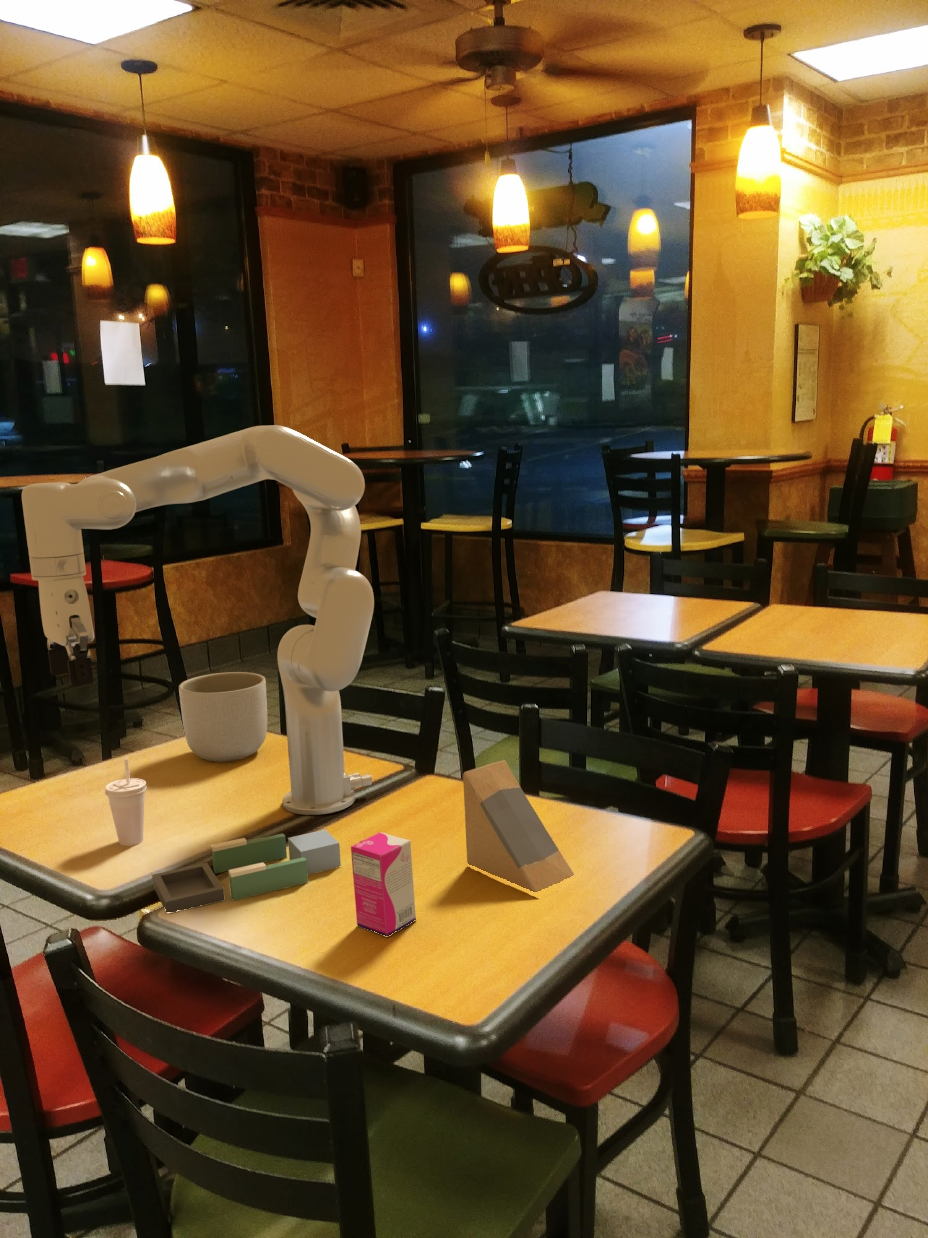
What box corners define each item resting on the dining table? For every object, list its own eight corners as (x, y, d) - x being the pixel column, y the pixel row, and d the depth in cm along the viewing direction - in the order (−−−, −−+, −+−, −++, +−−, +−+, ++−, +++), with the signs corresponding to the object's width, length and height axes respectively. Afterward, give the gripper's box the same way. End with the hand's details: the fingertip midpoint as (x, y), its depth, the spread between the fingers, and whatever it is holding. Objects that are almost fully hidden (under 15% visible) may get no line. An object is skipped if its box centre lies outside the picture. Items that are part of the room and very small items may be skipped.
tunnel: (284, 854, 159) (282, 829, 158) (308, 882, 148) (306, 856, 148) (213, 870, 154) (211, 844, 153) (233, 900, 144) (230, 873, 143)
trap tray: (208, 874, 153) (207, 862, 152) (224, 900, 144) (223, 888, 144) (153, 886, 149) (152, 874, 149) (166, 914, 140) (165, 902, 140)
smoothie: (139, 850, 162) (130, 766, 159) (102, 848, 163) (93, 764, 161) (159, 834, 168) (151, 753, 166) (123, 832, 170) (115, 751, 167)
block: (326, 853, 159) (325, 829, 158) (340, 868, 154) (339, 843, 153) (289, 862, 156) (287, 838, 155) (302, 877, 151) (300, 851, 150)
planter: (245, 736, 220) (240, 667, 217) (286, 754, 207) (281, 681, 204) (171, 754, 209) (164, 682, 207) (208, 774, 197) (202, 698, 194)
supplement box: (384, 909, 140) (380, 830, 137) (417, 921, 136) (413, 840, 134) (354, 926, 135) (349, 844, 133) (387, 939, 132) (382, 855, 129)
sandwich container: (539, 901, 141) (537, 798, 138) (465, 868, 152) (461, 772, 149) (581, 882, 146) (580, 782, 143) (506, 851, 157) (504, 758, 155)
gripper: (103, 569, 146) (116, 684, 150) (66, 559, 160) (79, 665, 163) (49, 575, 142) (63, 695, 145) (15, 564, 156) (30, 674, 159)
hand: (71, 679), depth 154 cm, fingers open, 9 cm apart
